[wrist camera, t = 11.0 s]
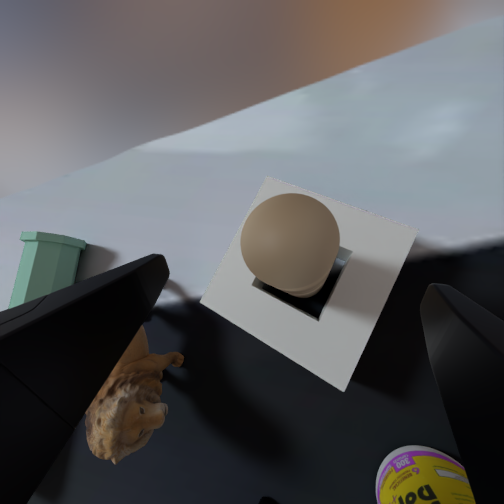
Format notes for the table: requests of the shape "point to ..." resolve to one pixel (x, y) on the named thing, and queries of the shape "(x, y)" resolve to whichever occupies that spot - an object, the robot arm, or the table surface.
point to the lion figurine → (129, 402)
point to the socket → (339, 301)
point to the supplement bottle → (422, 478)
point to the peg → (291, 243)
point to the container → (45, 265)
